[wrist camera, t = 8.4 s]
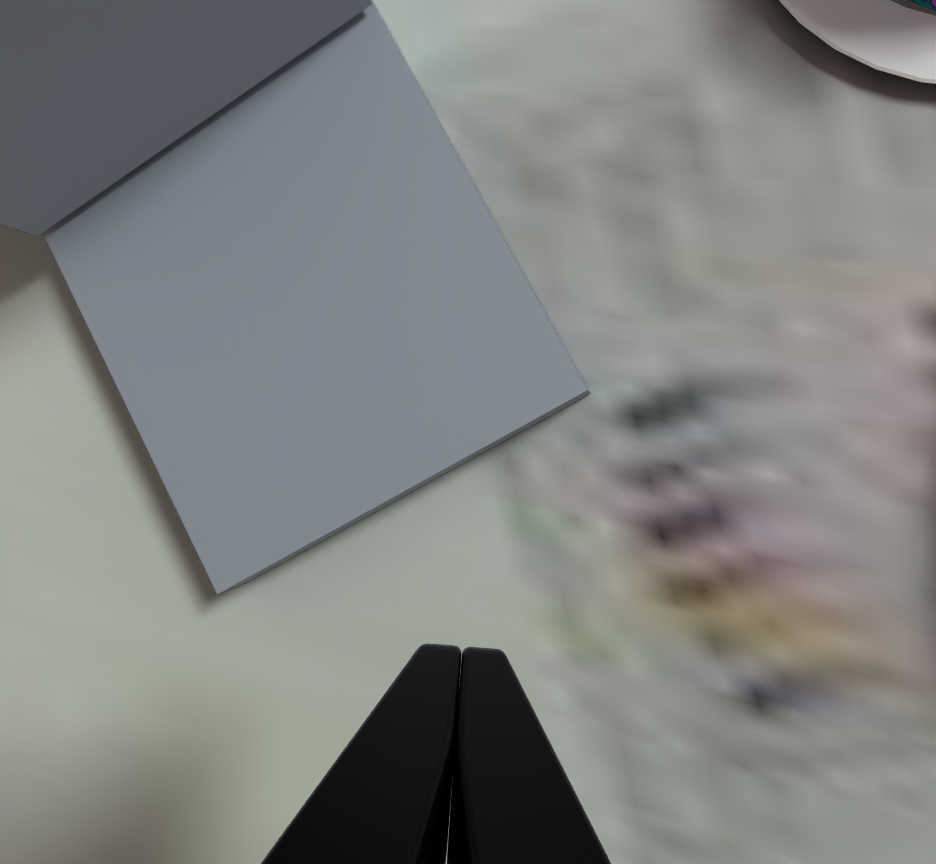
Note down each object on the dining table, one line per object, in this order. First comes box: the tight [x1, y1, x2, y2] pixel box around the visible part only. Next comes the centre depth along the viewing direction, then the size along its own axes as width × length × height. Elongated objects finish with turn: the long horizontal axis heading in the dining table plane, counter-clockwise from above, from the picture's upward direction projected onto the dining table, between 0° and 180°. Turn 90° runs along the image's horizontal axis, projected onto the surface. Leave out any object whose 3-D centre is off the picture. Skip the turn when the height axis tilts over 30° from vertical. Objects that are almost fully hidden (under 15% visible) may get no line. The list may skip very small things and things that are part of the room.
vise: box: [43, 0, 591, 594], centre depth 18 cm, size 19×11×6 cm, turn 29°
